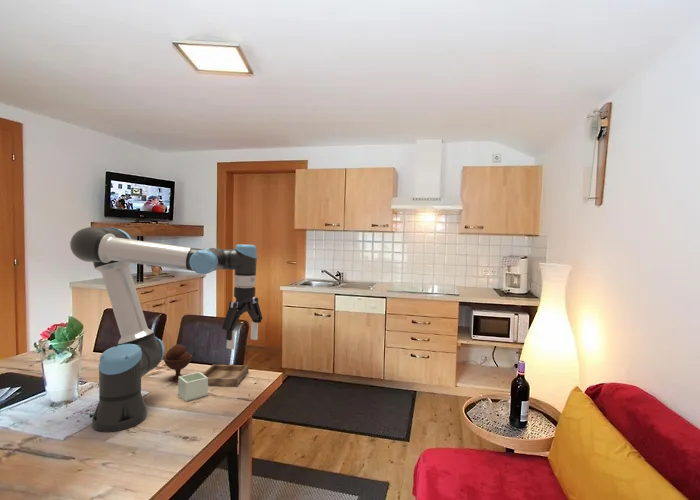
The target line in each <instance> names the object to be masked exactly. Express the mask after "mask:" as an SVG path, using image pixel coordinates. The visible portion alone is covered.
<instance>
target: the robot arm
mask: <svg viewBox="0 0 700 500" xmlns="http://www.w3.org/2000/svg"><path fill="white" fill-rule="evenodd" d="M69 245H70V250H71V252H72V254H73V255H74V256H75V257H76V258H77V259H79V260H81V261H83V262H86V263H87V262H89V263H90V262H91V263H92V264H93V266H94V269H95V270H96V271H97V272H100V273H101V276H102V278H103V282H104V284H105V289H106V292H107V294H108V298H109V301H110V305H111V308H112V310H113V315H114V317H115V321H116V324H117V327H118V331H119V335H120V338H119V340H118V342H117V346H112V347H109V348H107V349H106V350H104V351H103V352H102V353H101V355H100V356H99V363H98V378H99V379H98V392H99V395H98V402H97V406H96V408H95V411H94V413H93V417H92V418H91V419H92V420H91V421H92V422H91V423H92V426H91V427H92V429H93V430H95V431H97V432H98V431H99V432H106V433H107V432H109V433H110V432H116V431H121V430H126V429H129V428H131V427H133V426H137V425H139V424H140V423H142V422H143V421H144V420H146V418H147V414H148V408H147V405H146V402H145V400H144V397H143V394H142V377H145V375H147V374H148V373H149V372H150V371H152V370H154V369H156V368H157V366H159V364H160V363H161V362H162V360H164V356H165V354H166V353H165V352H166V351H165V350H166V349H165V345H164V342H163V341H162V339H160V338H158V337H157V336H156V335H155V331H154V330H152V329H150V328H149V327H148V324H147V321H146V318H145V314H144V312H143V308H142V305H141V301H140V299H139V295H138V292H137V288H136V285H135V281H134V278H133V275H132V272H131V269H130V268H131V267H130V264H138V265H145V266H152V267H153V266H154V267H160V268H161V267H162V268H167V269H168V268H169V269H175V270H176V269H177V270H178V269H179V270H184V271H191V272H195V273H196V274H201V275H202V274H203V275H204V274H206V275H207V274H210V273H212V272H216V271H218V270H223V271H224V270H227V271H228V270H229V271H233V270H234V282H233V284H234V286H235V287H234V289H233V296H234V299H235V301H229V304H228V309H227V313H226V316H225V318H224V322H223V324H222V326H221V329H222V330H224V331H226V349H229V350H235V341H236V340H235V338H236V337H235V335H236V330H234V329H235V327H236V325H237V323H238V321H239V319H240V318H241V316H242V315H243V314H244V313H246V312H247V313H248V316H249V317H250V319H251V320H252V321H251V322H250V340H253V341H257V340H258V339H259V338H258V336H259V335H258V334H259V323H262V320H263V315H262V312H261V308H260V304H259V297H256V287H255V286H256V282H257V281H256V279H257V278H256V275H257V261H258V260H257V259H258V256H257V255H258V254H257V246H256V245H255V244H243V243H242V244H241V243H239V244H236V245H235V248H232V249H229V248H215V247H207V248H203V249H202V248H196V247H194V248H193V247H187V246H181V245H173V244H166V243H160V242H159V243H158V242H151V241H144V240H143V241H142V240H138V239H132V237H131V236H130V235H129V233H128V232H126V231H125V230H122V229H120V228H116V227H110V226H109V227H95V226H91V227H85V228H84V227H83V228H81V229H79V230H78V231H76V232H75V233H74V234H73V235H72V237H71V239H70V242H69Z"/></svg>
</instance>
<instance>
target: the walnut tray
mask: <svg viewBox="0 0 700 500" xmlns="http://www.w3.org/2000/svg"><path fill="white" fill-rule="evenodd" d="M202 374H203V375H205V376H206V377H208V387H233V388H234V387H235V388H237V387H238V386H239V385H240V384H241V382H242V381H244V378H245V377H246V376H247V375H248V374H249V365H243V364H242V365H241V364H240V365H237V364H236V365H235V364H212V365H211V366H210V367H208V368H207V369H206V370H205V371H204V372H203V373H202Z"/></svg>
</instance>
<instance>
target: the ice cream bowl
mask: <svg viewBox="0 0 700 500" xmlns="http://www.w3.org/2000/svg"><path fill="white" fill-rule="evenodd" d="M192 360H193V354H192V353H190V352H189V351H186V346H185V345H183V344H179V343H178V344H174V345H173V346H172V347H171V348H169V349H168V350H167V352H166V353H165V357H163V362H164V364H165V365H166V366H167V368H169V369H171V370H172V371H175V375H173V376H172V377H171V378H170V381H172V382H178V377H179V376H183V375H182V374H181V370H184V369H185V368H186V367H187V366H188V365H190V363H191V362H192Z"/></svg>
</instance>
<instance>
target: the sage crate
mask: <svg viewBox="0 0 700 500" xmlns="http://www.w3.org/2000/svg"><path fill="white" fill-rule="evenodd" d="M177 382H178V384H177V386H178V388H177V395H178V396H179V397H180V398H182V400H184V401H185V402H190V401H194V400H198V399H201V398H205V397H208V393H209V392H208V389H209V388H208V387H209V386H208V377H206V376H205V375H203V373H202V372H201V371H195V372H192V373H187V374H184V375H183V376H179V377H178V381H177Z"/></svg>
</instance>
